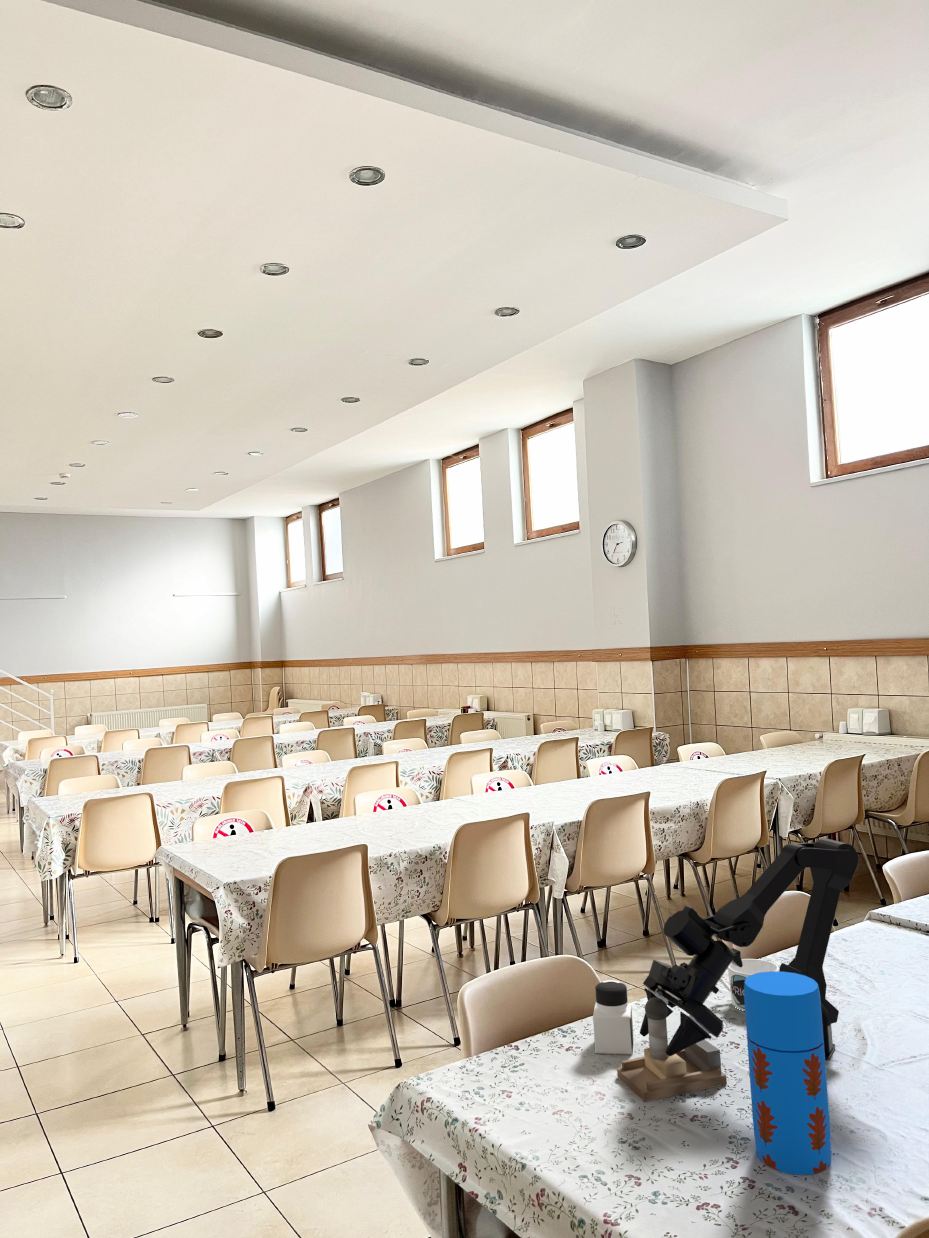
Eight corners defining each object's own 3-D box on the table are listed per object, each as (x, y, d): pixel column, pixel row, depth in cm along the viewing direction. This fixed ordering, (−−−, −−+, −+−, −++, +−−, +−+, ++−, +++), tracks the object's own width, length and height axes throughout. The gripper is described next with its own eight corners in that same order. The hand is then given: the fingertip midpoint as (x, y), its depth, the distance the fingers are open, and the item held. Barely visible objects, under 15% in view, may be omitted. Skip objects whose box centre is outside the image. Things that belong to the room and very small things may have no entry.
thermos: (795, 1183, 126) (782, 1001, 128) (739, 1149, 136) (727, 980, 137) (849, 1160, 131) (835, 985, 133) (791, 1129, 141) (779, 966, 142)
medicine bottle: (633, 1055, 171) (628, 990, 171) (595, 1053, 172) (591, 989, 173) (633, 1039, 178) (629, 977, 178) (597, 1038, 179) (593, 976, 180)
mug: (787, 1000, 193) (784, 962, 194) (775, 1017, 184) (772, 977, 185) (724, 991, 201) (722, 954, 201) (710, 1007, 192) (707, 969, 192)
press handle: (664, 1061, 163) (660, 988, 164) (686, 1079, 156) (681, 1002, 157) (640, 1066, 162) (635, 992, 163) (661, 1084, 155) (656, 1007, 155)
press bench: (695, 1061, 166) (693, 1030, 167) (726, 1084, 157) (724, 1051, 157) (617, 1077, 162) (615, 1045, 162) (644, 1101, 152) (642, 1068, 153)
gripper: (648, 929, 170) (599, 999, 166) (702, 958, 152) (648, 1036, 149) (688, 966, 172) (640, 1035, 168) (746, 998, 154) (694, 1076, 150)
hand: (654, 1044), depth 159 cm, fingers open, 9 cm apart
